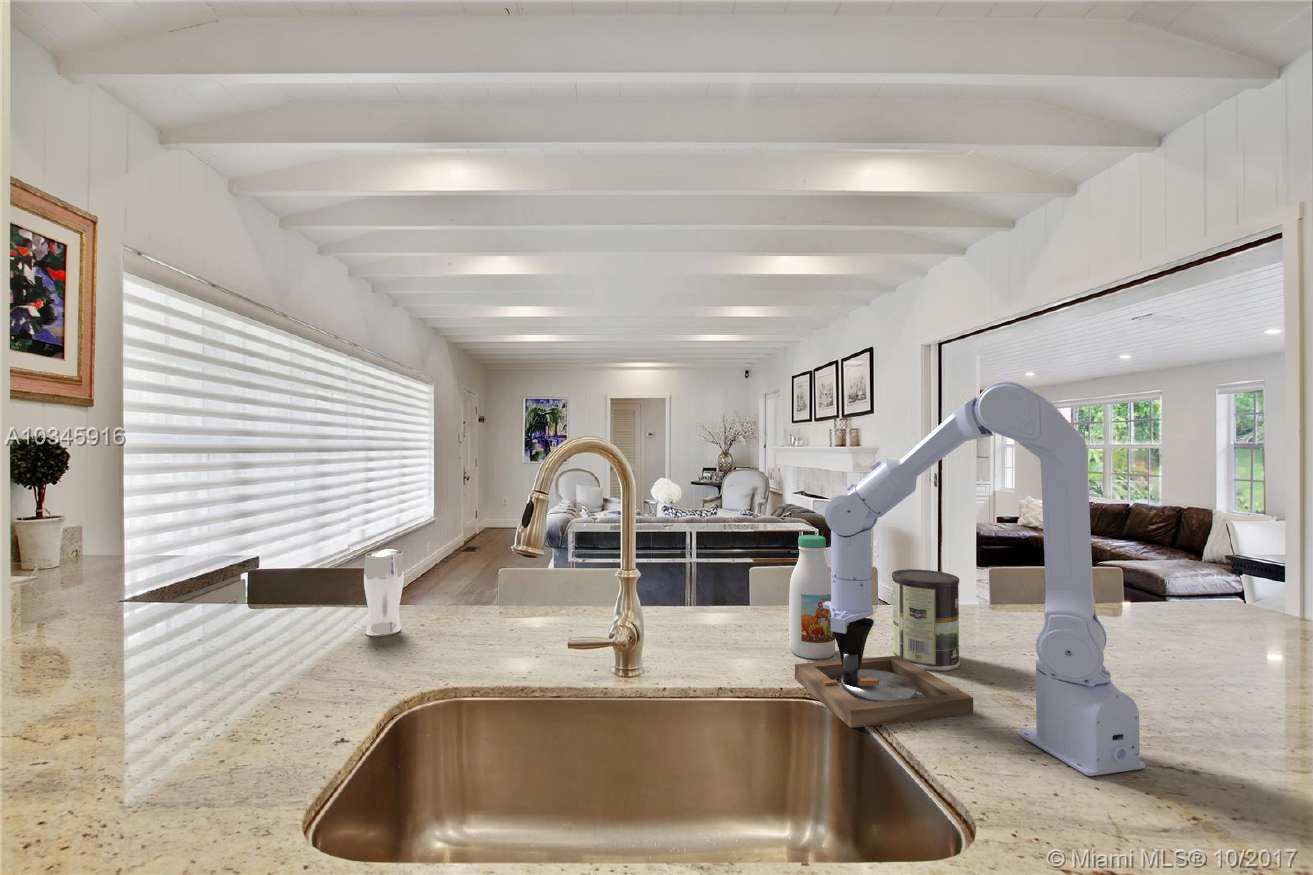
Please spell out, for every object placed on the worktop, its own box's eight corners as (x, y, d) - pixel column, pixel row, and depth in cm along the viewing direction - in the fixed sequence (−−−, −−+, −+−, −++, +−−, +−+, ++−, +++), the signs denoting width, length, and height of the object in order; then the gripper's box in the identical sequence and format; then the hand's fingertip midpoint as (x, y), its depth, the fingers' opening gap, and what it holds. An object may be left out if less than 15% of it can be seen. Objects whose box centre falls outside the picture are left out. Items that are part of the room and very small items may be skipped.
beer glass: (363, 628, 113) (364, 551, 113) (403, 624, 116) (403, 548, 116) (362, 639, 107) (363, 557, 107) (404, 634, 110) (404, 554, 110)
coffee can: (949, 651, 102) (949, 570, 102) (968, 673, 92) (968, 583, 92) (886, 647, 104) (886, 567, 104) (898, 668, 94) (898, 580, 94)
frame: (973, 714, 78) (973, 694, 78) (850, 727, 74) (850, 707, 74) (899, 669, 93) (899, 653, 93) (794, 678, 90) (794, 661, 90)
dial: (894, 678, 89) (894, 640, 89) (930, 708, 79) (930, 665, 79) (830, 680, 88) (830, 642, 88) (858, 710, 78) (858, 667, 78)
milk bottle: (783, 655, 99) (783, 537, 100) (795, 642, 106) (795, 532, 106) (830, 663, 96) (830, 541, 96) (839, 649, 103) (839, 535, 103)
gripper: (837, 564, 94) (837, 649, 94) (808, 582, 82) (809, 679, 82) (883, 570, 90) (883, 658, 90) (860, 589, 78) (860, 691, 78)
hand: (851, 669), depth 86 cm, fingers closed
